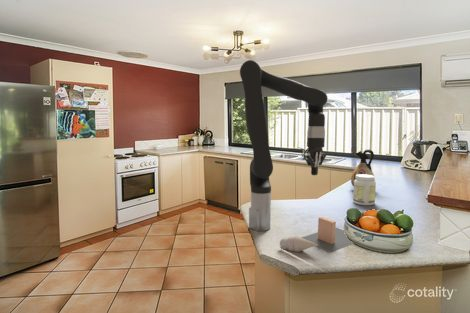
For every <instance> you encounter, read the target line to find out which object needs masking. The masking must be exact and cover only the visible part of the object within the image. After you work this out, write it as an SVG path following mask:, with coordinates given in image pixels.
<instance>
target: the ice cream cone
mask: <svg viewBox="0 0 470 313" xmlns="http://www.w3.org/2000/svg"><path fill="white" fill-rule="evenodd" d="M317 245H318V244H315V243H313V242H311V241H308V240H306V239H303V238H301V236H298V235H295V236H294V235H291V236H289V237H282V238H281V239H280V240H279V246H280V248H281V249H282V250H288V251H290V252H295V253H298V252H299V253H300V252H302V251H304V250H308V249H310V248H313V247H315V246H317Z"/></svg>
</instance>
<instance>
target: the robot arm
mask: <svg viewBox="0 0 470 313" xmlns="http://www.w3.org/2000/svg"><path fill="white" fill-rule="evenodd" d="M239 77H240V78H241V82H242V86H243V90H244V91H243V92H244V114H245V125H246V130H247V133H248V134H247V135H248V138H249V140H250V143H251V146H252V152H253V158H252V160H251V161H250V164H249V183H250V184H249V185H250V207H248V228H249V229H252V230H254V231H256V232H262V231H264V232H265V231H268V230H270V229H271V211H272V210H271V209H272V208H271V207H272V206H271V205H272V186H271V182H270V176H271V175H272V174H273V171H274V164H273V160H272V155H271V150H270V145H269V143H270V142H269V141H270V140H269V130H268V128H269V127H268V120H267V118H268V117H267V112H266V106H265V101H264V97H263V92H262V91H263V90H262V87H264V88H266V89H269V90H273V91H274V92H277V93H279V94H282V95H284V96H287V97H289V98H291V99H294V100H297V101H303V102H306V103H307V111H308V112H307V113H308V122H307V124H308V126H307V136H306V147H307V154H304V155H303V159H304V161H305V162H306V164H307V165H308V166H309V167H310V168H311V170H310V174H311V176H318V174H319V167H320V166H322V165H323V163H324V160H325V159H326V157H327V154H326V153H324V149H323V148H324V147H325V141H326V140H325V138H326V129H325V128H326V126H325V124H326V116H325V114H324V106H325V105H326V104H327V103H328V94H327V93H326V92H325V91H324V90H321V89H319V88H316V87H311V86H308V85H306V84H303V83H300V82H298V81H296V80H294V79H293V80H292V79H291V78H290V79H289V78H286V77H282V76H278V75H274V74H273V73H270V72H268V71H267V70H264V69H262V67H261V66H260V64H259V63H258V62H257V61H255V60H251V59H249V60H246V61H244V62H243V63H242V64H241V65H240V68H239Z"/></svg>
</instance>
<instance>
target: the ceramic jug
mask: <svg viewBox="0 0 470 313" xmlns="http://www.w3.org/2000/svg"><path fill="white" fill-rule="evenodd" d="M367 153H368V154H370V158H369V156H368V155H367ZM374 155H375V154H374V151H373V150H371V149H365V150H363V152H362V151H361V150H360V151H358V152H356V154H354V156H355V157H357V158H360V162H359V164H358V165H357V166H356V167H355V169H354V170H353V171H352V174H351V178H350V182H351V185H352V186H353V187H354V180H355V179H356V175H358V174H366V175H372V176H374V177H375V175H374V172H373V169H372V166H371V164H372V162H373V160H374ZM368 159H369V161H368V162H367V160H368ZM375 179H376V178H375ZM375 179H374V181H375V182H376V180H375Z"/></svg>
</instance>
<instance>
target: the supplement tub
mask: <svg viewBox="0 0 470 313" xmlns="http://www.w3.org/2000/svg"><path fill="white" fill-rule="evenodd" d="M374 179H376V178H375V175H374V176H372V175H366V174H358V175H356V179H355V180H354V186H353V193H352V201H353V202H354V204H356V205H360V206H373V205H374V204H375V202H376V189H377V188H376V187H377V185H376V184H377V183H376V182H377V181H376V180H375V181H374Z"/></svg>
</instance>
